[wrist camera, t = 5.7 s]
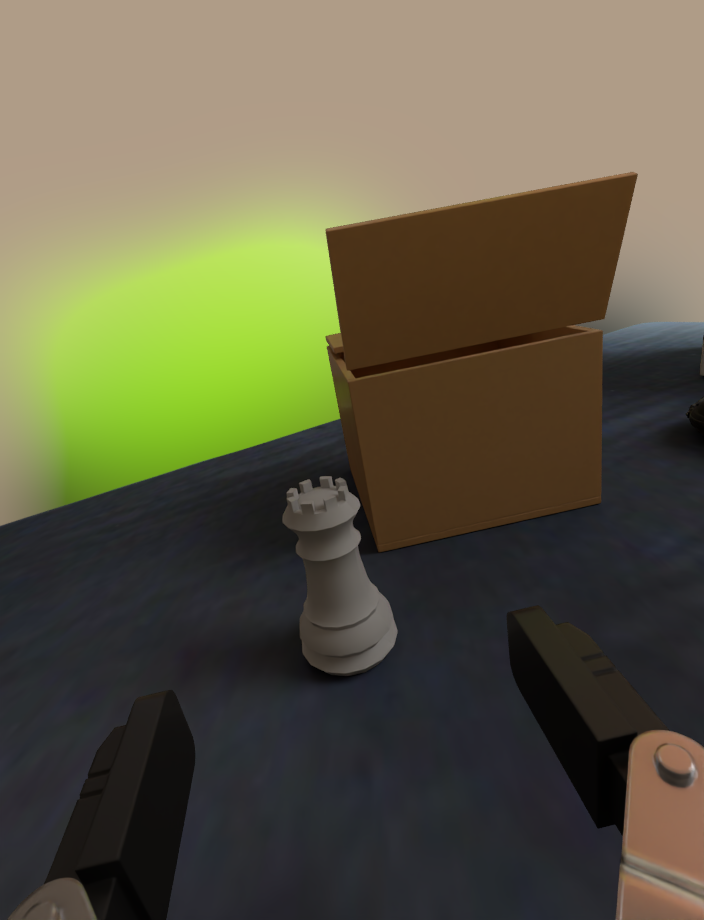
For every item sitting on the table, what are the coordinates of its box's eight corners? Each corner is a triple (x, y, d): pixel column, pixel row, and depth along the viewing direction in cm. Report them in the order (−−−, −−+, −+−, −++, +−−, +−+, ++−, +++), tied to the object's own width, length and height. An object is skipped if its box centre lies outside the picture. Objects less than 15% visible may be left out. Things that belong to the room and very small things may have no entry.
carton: (506, 435, 44) (497, 301, 39) (601, 503, 30) (603, 314, 26) (350, 468, 43) (324, 335, 39) (378, 553, 30) (345, 366, 26)
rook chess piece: (412, 620, 24) (388, 467, 21) (375, 693, 20) (339, 521, 17) (332, 605, 26) (299, 465, 23) (284, 669, 22) (239, 512, 19)
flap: (632, 171, 22) (638, 173, 22) (600, 315, 27) (604, 319, 26) (325, 228, 21) (326, 231, 21) (345, 367, 26) (347, 371, 26)
